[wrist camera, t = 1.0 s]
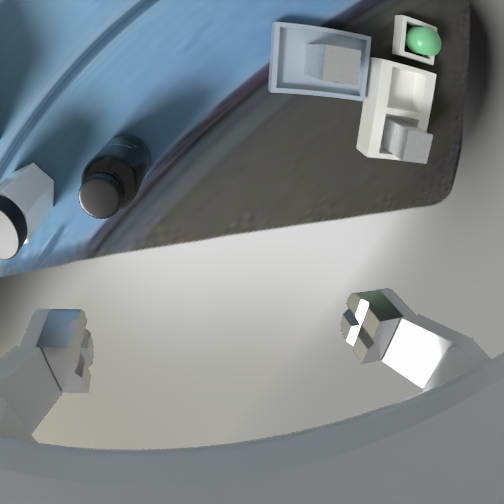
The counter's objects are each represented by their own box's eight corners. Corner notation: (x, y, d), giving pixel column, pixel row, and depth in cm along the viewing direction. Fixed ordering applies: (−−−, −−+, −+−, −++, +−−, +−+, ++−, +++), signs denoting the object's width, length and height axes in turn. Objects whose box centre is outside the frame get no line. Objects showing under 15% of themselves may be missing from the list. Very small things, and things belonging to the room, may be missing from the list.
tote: (271, 22, 30) (275, 21, 29) (364, 36, 32) (371, 36, 30) (268, 90, 36) (271, 92, 34) (357, 98, 37) (364, 101, 35)
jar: (3, 190, 37) (-37, 233, 27) (24, 152, 35) (-21, 189, 25) (42, 223, 42) (10, 272, 32) (66, 189, 39) (31, 235, 30)
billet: (306, 44, 31) (325, 44, 26) (337, 48, 32) (361, 50, 26) (303, 75, 34) (322, 81, 28) (334, 78, 34) (357, 86, 29)
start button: (406, 23, 29) (419, 23, 27) (429, 31, 30) (442, 32, 27) (404, 49, 31) (416, 51, 29) (426, 56, 32) (439, 59, 30)
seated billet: (381, 115, 38) (408, 130, 32) (404, 119, 38) (433, 134, 32) (376, 143, 40) (402, 161, 34) (399, 146, 40) (426, 164, 35)
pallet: (368, 56, 33) (381, 58, 31) (421, 70, 35) (436, 74, 32) (356, 148, 41) (367, 157, 39) (406, 153, 43) (419, 162, 40)
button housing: (395, 15, 30) (402, 14, 28) (429, 27, 30) (437, 27, 29) (391, 53, 33) (399, 54, 32) (425, 63, 34) (433, 65, 32)
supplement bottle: (135, 124, 36) (108, 155, 26) (159, 167, 40) (144, 210, 30) (93, 150, 37) (58, 188, 27) (118, 189, 41) (94, 237, 31)
